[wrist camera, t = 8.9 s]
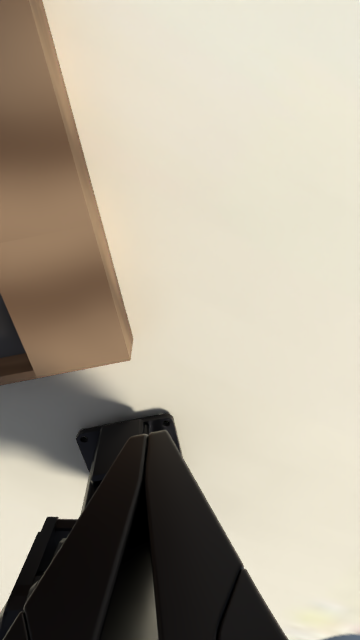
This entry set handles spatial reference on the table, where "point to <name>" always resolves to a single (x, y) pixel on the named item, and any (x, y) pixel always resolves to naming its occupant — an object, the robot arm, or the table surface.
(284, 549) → the table surface
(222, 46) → the table surface
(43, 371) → the board
